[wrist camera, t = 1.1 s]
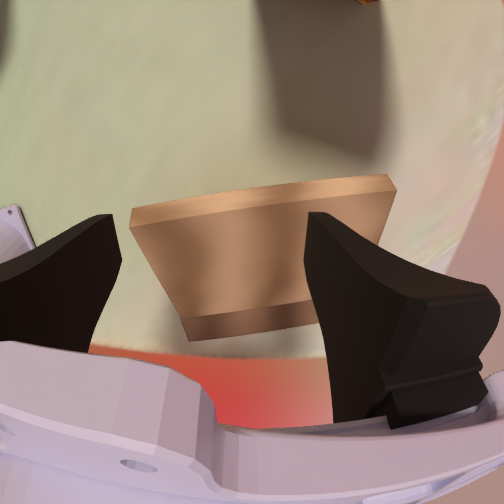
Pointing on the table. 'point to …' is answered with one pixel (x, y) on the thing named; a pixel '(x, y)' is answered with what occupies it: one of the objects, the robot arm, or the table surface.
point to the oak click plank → (250, 240)
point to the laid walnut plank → (250, 321)
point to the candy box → (366, 1)
